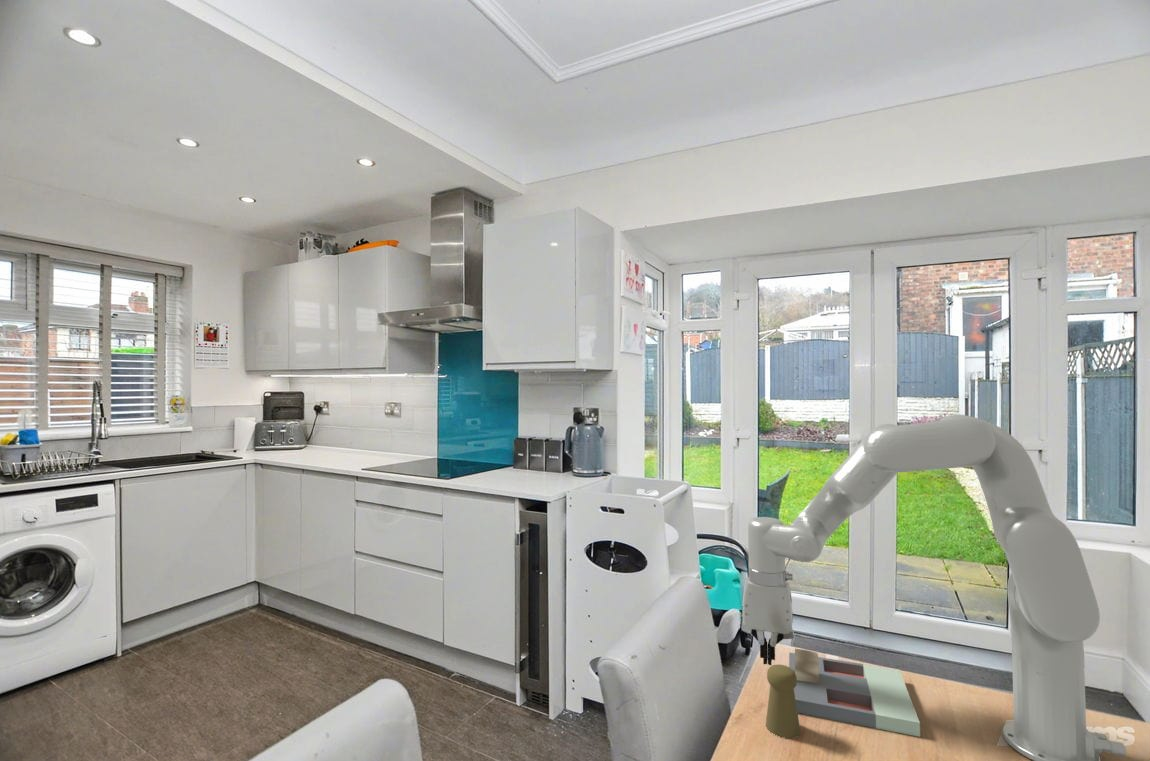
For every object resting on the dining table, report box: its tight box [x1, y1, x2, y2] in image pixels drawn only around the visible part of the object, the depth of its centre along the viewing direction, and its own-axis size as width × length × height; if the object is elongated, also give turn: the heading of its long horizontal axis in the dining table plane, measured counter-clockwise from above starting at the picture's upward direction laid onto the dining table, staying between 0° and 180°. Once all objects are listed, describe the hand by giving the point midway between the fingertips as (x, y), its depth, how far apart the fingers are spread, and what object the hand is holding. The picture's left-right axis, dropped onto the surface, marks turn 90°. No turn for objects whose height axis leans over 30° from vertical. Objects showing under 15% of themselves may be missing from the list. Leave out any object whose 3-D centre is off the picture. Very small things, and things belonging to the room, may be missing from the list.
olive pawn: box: [765, 664, 801, 739], centre depth 101 cm, size 6×6×11 cm
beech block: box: [794, 648, 819, 684], centre depth 114 cm, size 4×4×4 cm
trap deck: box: [788, 652, 921, 738], centre depth 111 cm, size 22×20×2 cm
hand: (767, 661), depth 117 cm, fingers closed
